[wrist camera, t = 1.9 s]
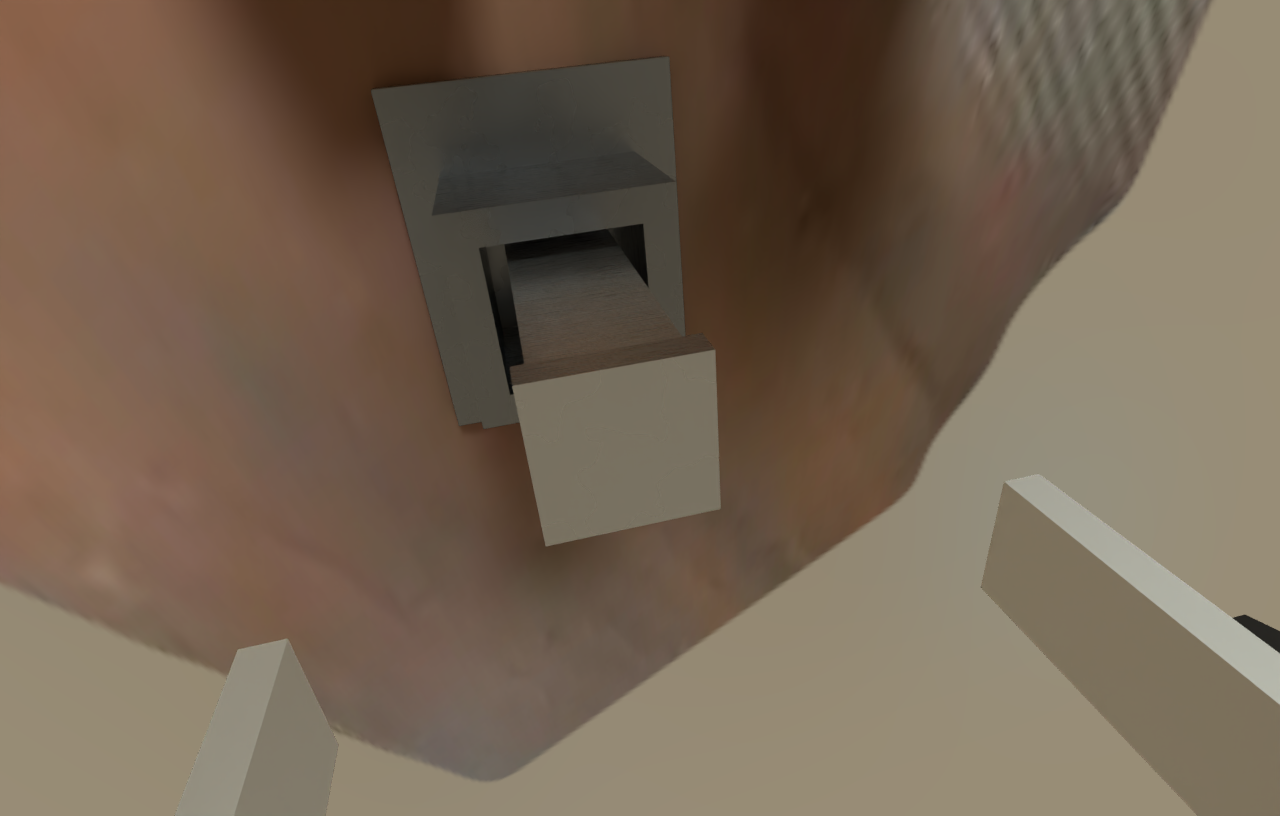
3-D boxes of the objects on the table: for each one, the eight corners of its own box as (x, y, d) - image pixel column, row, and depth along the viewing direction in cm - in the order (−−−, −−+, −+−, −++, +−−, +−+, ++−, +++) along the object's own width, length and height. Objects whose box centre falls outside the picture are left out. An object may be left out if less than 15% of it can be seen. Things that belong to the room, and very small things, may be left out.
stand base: (373, 88, 31) (338, 110, 23) (664, 55, 33) (730, 65, 25) (459, 417, 40) (456, 521, 32) (683, 376, 43) (737, 463, 34)
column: (491, 215, 34) (512, 386, 18) (599, 199, 35) (715, 349, 19) (511, 319, 37) (545, 549, 21) (611, 303, 38) (720, 511, 21)
